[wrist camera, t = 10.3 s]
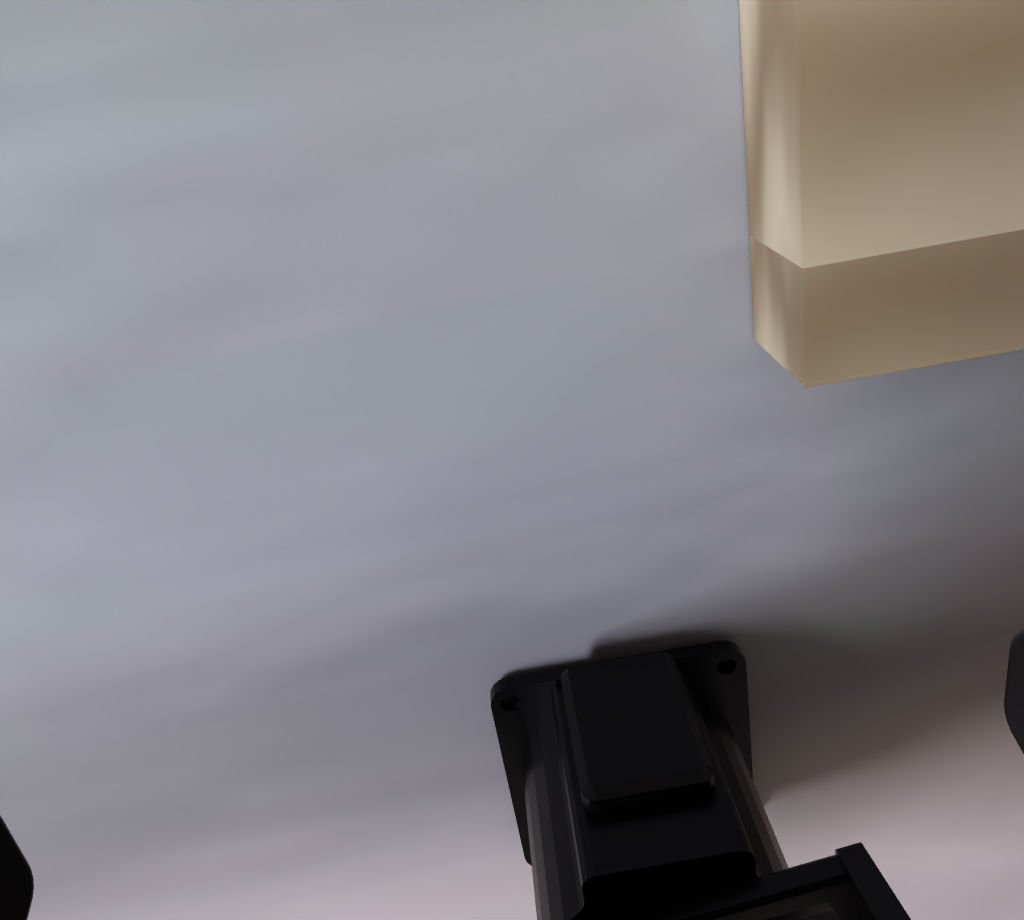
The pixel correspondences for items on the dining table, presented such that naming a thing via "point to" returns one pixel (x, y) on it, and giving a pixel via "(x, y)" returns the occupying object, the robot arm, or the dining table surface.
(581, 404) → the dining table surface
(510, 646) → the dining table surface
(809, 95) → the socket block
